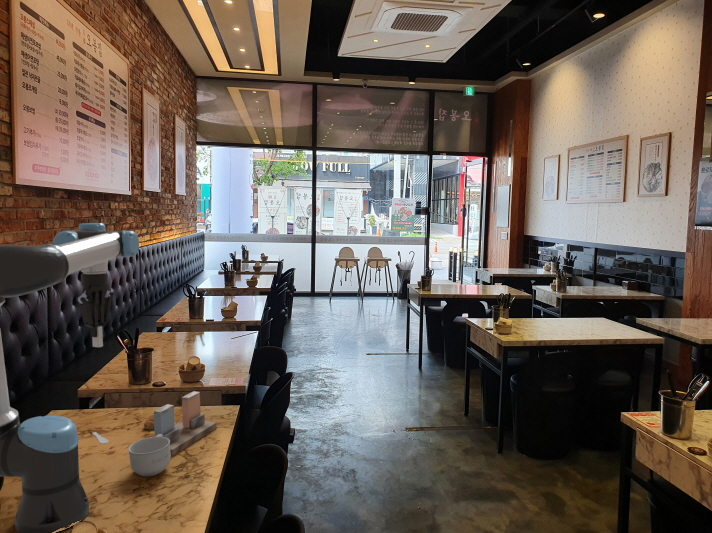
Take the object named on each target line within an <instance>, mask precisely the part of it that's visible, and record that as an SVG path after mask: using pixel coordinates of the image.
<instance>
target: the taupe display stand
mask: <svg viewBox="0 0 712 533" xmlns="http://www.w3.org/2000/svg"><path fill="white" fill-rule="evenodd" d="M205 418H206V416H205V413H200V415H199V416H197V417H196V418H194V419H192V420H191V427H190V428H187V427H183V419H182V420H180V421H178V422H176V423H174V427H175V430H173V431H171V432H169V433H168V434H166V435H164V436H163V437H166V438H168V439H169V440H170V453H171V457H174V456H176V455H178V454H179V453H180V452H181V451H183V450H185V449H187V448H188V447H190V446H191V445H193V444H194V443H196V442H198V441H199V440H201V439H202V438H204V437H205V436H207V435H208V434H210V433H211V432H212V431H215V430H216V429H217V422H215V421H209V420H206V419H205ZM214 429H215V430H214ZM152 437H155V435H153V436H152Z"/></svg>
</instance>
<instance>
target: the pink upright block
mask: <svg viewBox="0 0 712 533" xmlns="http://www.w3.org/2000/svg"><path fill="white" fill-rule="evenodd" d="M181 405H182V406H181V407H182V408H181V410H182V411H181V412H182V413H181V414H182V420H183V427H187V428H190V427H191V420H192V419H194V418H196V417H197V416H199V415H201V392H200V391H195V390H193V391H192V392H190V393H188V394H185V395H184V396H183V395H182V396H181Z"/></svg>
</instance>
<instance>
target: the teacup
mask: <svg viewBox="0 0 712 533" xmlns="http://www.w3.org/2000/svg"><path fill="white" fill-rule="evenodd" d="M127 450H128V454H129V462H130V466H131V469H132V471H133V472H134V473H135V474H138V475H139V476H141V477H152V476H153V477H154V476H156V475H159V474H160V473H162V472H164V470H165V469H166V468H167V467H168V466H169V465H170V462H171V457H172V456H171V453H170V440H169V439H168V438H166V437H163V435H162V434H158V435H157V436H156V437H153V436H150V437H146V438H141V439H139V440H137V441H134V442H133V443H131V444H130V445H129V446H128V448H127Z"/></svg>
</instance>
